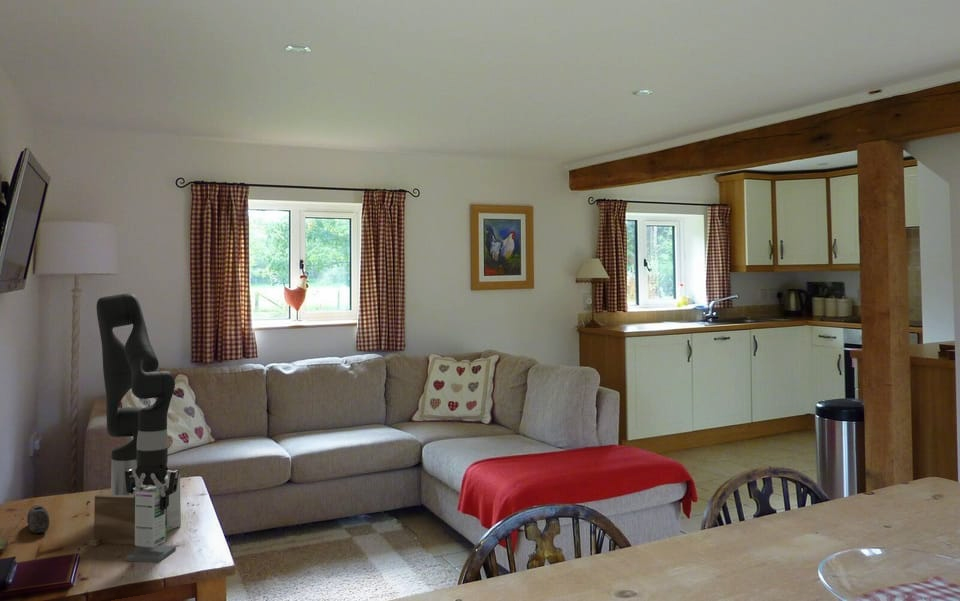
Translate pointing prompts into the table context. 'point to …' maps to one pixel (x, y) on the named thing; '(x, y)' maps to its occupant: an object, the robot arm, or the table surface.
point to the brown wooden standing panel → (114, 519)
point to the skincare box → (173, 507)
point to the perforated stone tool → (38, 519)
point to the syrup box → (149, 518)
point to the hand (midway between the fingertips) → (151, 509)
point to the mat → (150, 554)
